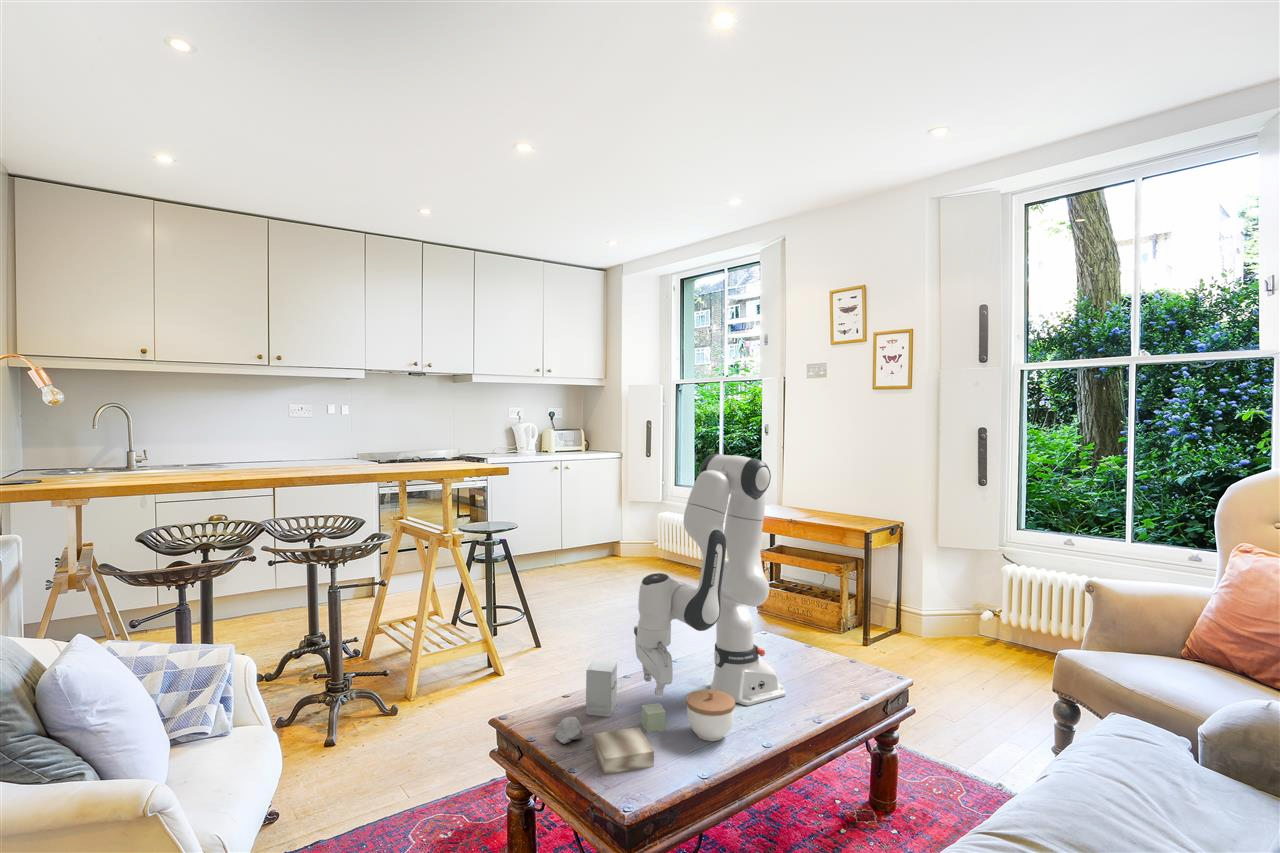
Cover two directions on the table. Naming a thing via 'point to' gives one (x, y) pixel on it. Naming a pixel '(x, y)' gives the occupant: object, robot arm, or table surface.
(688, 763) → the table surface
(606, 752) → the ash block
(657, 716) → the sage cube
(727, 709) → the lidded bowl
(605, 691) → the supplement box
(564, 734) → the white clam shell
